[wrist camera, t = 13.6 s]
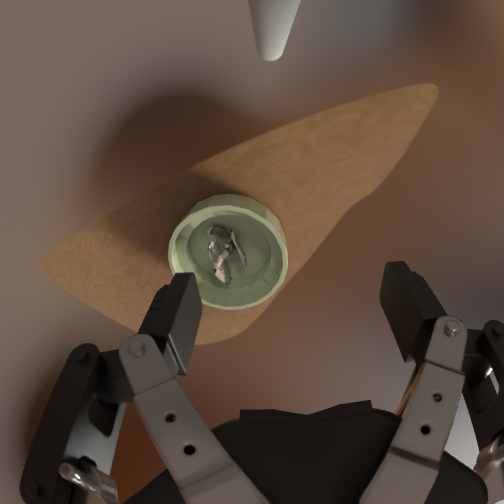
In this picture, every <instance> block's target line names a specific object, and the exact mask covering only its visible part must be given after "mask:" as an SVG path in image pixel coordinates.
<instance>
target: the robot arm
mask: <svg viewBox="0 0 504 504" xmlns="http://www.w3.org/2000/svg"><path fill="white" fill-rule="evenodd" d="M380 302H381V306H382V308H383V311H384V313H385V315H386V318H387V320H388V322H389V324H390V327H391V329H392V332H393V334H394V337H395V339H396V341H397V344H398V347H399V349H400V351H401V354H402V357H403V359H404V362H405V363H406V362H411V361H415V363H416V366H415V368H414V370H413V373H412V375H411V378H410V380H409V383H408V385H407V387H406V390H405V392H404V394H403V397H402V399H401V401H400V403H399V405H398V407H397V409H396V411H395V412H394V413H391V412H389V411H385V410H381V409H375V408H372V405H371V401H370V400H366V401H360V402H353V403H346V404H339V405H337V406H334V407H331V408H328V409H325V410H322V411H319V412H316V413H313V414H309V415H303V414H297V413H290V412H285V411H279V410H274V409H269V410H240V418H237V419H234V420H230V421H227V422H225V423H222V424H220V425H218V426H216V427H215V428H213V429H211V430H210V428H209V427H208V426H207V424H206V423H205V421H204V420H203V418H202V417H201V415H200V414H199V413H198V411H197V410H196V408H195V406H194V405H193V403H192V402H191V401H190V399H189V397H188V396H187V394H186V393H185V391H184V389H183V388H182V386H181V384H180V383H179V381H178V380H177V378H176V377H177V375H187V371H188V367H189V363H190V359H191V355H192V351H193V347H194V343H195V339H196V335H197V331H198V327H199V323H200V319H201V315H202V301H201V297H200V293H199V289H198V285H197V281H196V276H195V274H194V272H182V273H175V275H174V277H173V279H172V281H171V284H170V285H164V286H163V287H162V288H161V289H160V290H159V291H158V292H157V293H156V295H155V297H154V299H153V303H151V305H150V307H149V310H148V312H147V314H146V316H145V318H144V320H143V322H142V325H141V327H140V329H139V331H138V333H137V334H136V335H133V336H130V337H129V338H127V339H126V340H125V341H123V343H122V344H121V345H120V348H119V349H117V350H112V351H106V352H100V351H99V350H98V348H97V347H96V346H95V345H94V344H90V343H86V344H82V345H79V346H78V347H76V348H75V349H74V350H73V351H72V352H71V353H70V355H69V357H68V359H67V361H66V363H65V365H64V367H63V369H62V371H61V373H60V375H59V378H58V380H57V382H56V384H55V386H54V389H53V391H52V393H51V395H50V398H49V400H48V403H47V405H46V407H45V410H44V412H43V415H42V418H41V420H40V423H39V425H38V428H37V430H36V433H35V436H34V439H33V442H32V445H31V448H30V451H29V454H28V457H27V460H26V463H25V467H24V470H23V474H22V477H21V481H20V487H19V488H20V494H21V497H22V499H23V501H24V502H25V503H26V504H119V502H118V499H117V497H118V494H117V487H116V484H115V482H114V480H113V479H112V478H111V477H110V476H109V475H110V470H111V466H112V461H113V456H114V452H115V448H116V444H117V439H118V435H119V431H120V428H121V424H122V420H123V416H124V412H125V409H126V405H127V402H135V405H136V407H137V409H138V412H139V414H140V416H141V418H142V420H143V422H144V425H145V426H146V429H147V431H148V432H149V435H150V437H151V439H152V441H153V442H154V444H155V447H156V449H157V450H158V452H159V454H160V456H161V458H162V460H163V461H164V463H165V465H166V467H167V468H166V469H165V470H164V471H163V472H162V473H161V474H159V475H158V476H157V477H155V478H154V479H153V480H152V481H150V482H149V483H148V484H147V485H145V486H144V487H143V488H142V489H140V490H139V491H138V492H136V493H135V494H134V495H133V496H131V497H130V498H128V499H127V500H126V501H124V502H123V503H122V504H495V503H496V502H498V501H500V500H503V499H504V324H503V323H501V322H499V321H497V320H490V321H488V322H487V323H486V324H485V326H484V327H483V329H482V330H472V329H467V328H466V326H465V324H464V323H463V322H462V321H461V320H460V319H458V318H456V317H454V316H448V315H447V314H446V312H445V310H444V309H443V307H442V306H441V304H440V302H439V301H438V299H437V298H436V296H435V295H434V294H433V292H432V290H431V289H430V288H429V286H428V284H427V283H426V281H425V280H424V278H423V277H421V276H420V275H419V274H417V273H416V272H411V270H410V269H409V267H408V266H407V264H406V263H405V262H404V261H395V262H387V263H386V265H385V270H384V275H383V280H382V285H381V289H380ZM491 370H493V372H494V374H495V377H496V379H497V381H498V384H499V392H498V395H497V393H496V390H495V388H494V386H493V383H492V380H491V378H490V376H489V373H490V372H491ZM461 393H462V394H463V396H464V399H465V402H466V405H467V409H468V412H469V415H470V418H471V421H472V425H473V428H474V432H475V435H476V439H477V443H478V447H479V451H480V453H479V455H478V457H477V462H476V465H475V466H474V469H473V470H472V469H471V468H469V467H468V466H466V465H465V464H464V463H462V462H461V461H459V460H458V459H457V458H455V457H454V456H452V455H451V454H450V453H448V452H447V451H445V450H444V448H445V445H446V443H447V440H448V437H449V434H450V431H451V428H452V425H453V421H454V418H455V415H456V411H457V408H458V404H459V400H460V397H461Z"/></svg>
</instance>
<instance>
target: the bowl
mask: <svg viewBox="0 0 504 504" xmlns="http://www.w3.org/2000/svg"><path fill="white" fill-rule="evenodd" d="M213 225H219V226H220V227H221V226H223V227H225V228H226V229H227V231H228V232H229V234H230V230H231V229H233V232H234V235H236V237H237V240H238V241H239V244H240V245H241V246H242V248H243V250H244V252H245V254H246V261H247V266H246V269H245V266H244V264H243V262H242V261H241V260H239V261H236V262H234V264H233V267H232V270H231V275H230V277H233V278H232V280H231V281H229V283H230V284H227V285H226V284H224V283H223V282H222V281H220V280H219V279H218V278H217V276H216V275H215V273H214V270H213V268H214V267H213V264H212V261H211V258H210V255H209V252H208V251H207V248H208V244H209V243H210V241H211V240H210V238H209V236H208V233H207V230H208V227H210V226H213ZM168 261H169V265H170V268H171V272H172V275H173V276H174V275H175V273H182V272H194V274H195V276H196V281H197V285H198V289H199V293H200V297H201V301H202V303H203V304H205V305H208V306H211V307H215V308H220V309H225V310H233V309H245V308H248V307H251V306H255V305H258V304H260V303H261V302H263V301H264V300H266V299H268V298H269V297H271V296H272V295H273V294H274V293H275V292H276V290H277V289H278V288H279V287H280V285H281V284H282V282H283V280H284V277H285V274H286V271H287V268H288V264H287V247H286V240H285V234H284V232H283V230H282V227H281V225H280V223H279V220H278V219H277V218H276V217H275V216H274V215H273V214H272V212H271V211H270V210H269V209H268V208H267V207H266V206H264V205H262V204H260V203H259V202H257V201H255V200H254V199H252V198H249V197H245V196H240V195H235V194H223V195H214V196H211V197H209V198H206V199H204V200H202V201H200V202H197V203H196V204H195V205H194V206H193V207H192V208H191V209H190V210H189V211H188V212H187V213H186V214H185V215H184V216H183V218H182V219H181V221H180V222H179V224H178V225H177V227H176V229H175V231H174V233H173V235H172V237H171V239H170V241H169V249H168Z"/></svg>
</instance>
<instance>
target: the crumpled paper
mask: <svg viewBox="0 0 504 504" xmlns="http://www.w3.org/2000/svg"><path fill="white" fill-rule="evenodd" d="M207 233H208V236H209V238H210V240H211V241H210V243H209V244H208V248H207V251H208V252H209V255H210V258H211V261H212V264H213V267H214V268H213V270H214V273H215V275H216V276H217V278H218V279H219V280H220V281H222V282H223V283H224V284H226V285H227V284H230V283H229V281H231V280H232V278H233V277H230V275H231V270H232V267H233V264H234V262H236V261H239V260H241V261H242V262H243V264H244V266H245V269H246V266H247V261H246V254H245V252H244V250H243V248H242V246H241V245H240V244H239V241H238V240H237V237H236V235H234V232H233V229H231V230H230V234H229V232H228V231H227V229H226V228H225V227H223V226H221V227H220V226H219V225H213V226H210V227H208V230H207Z"/></svg>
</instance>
